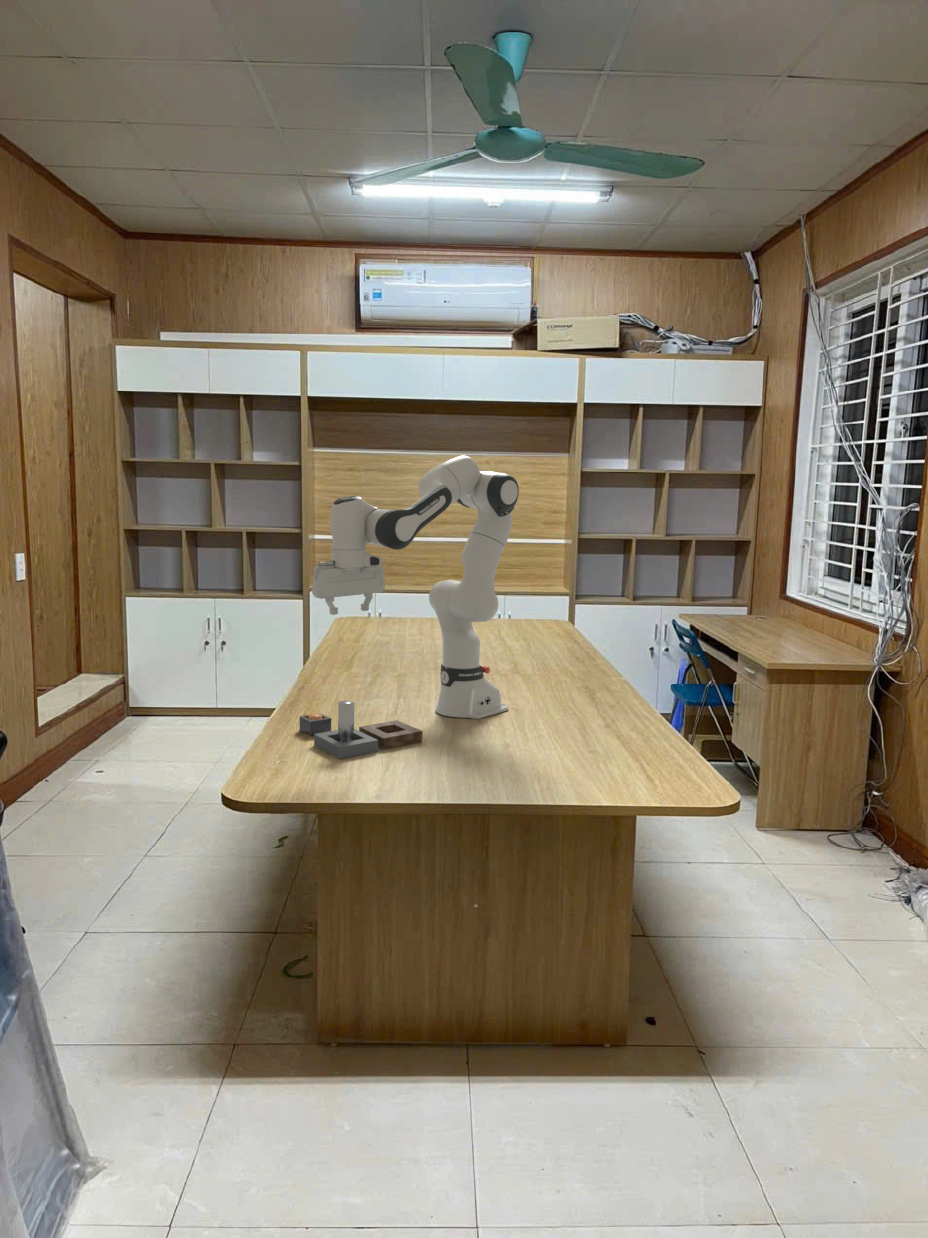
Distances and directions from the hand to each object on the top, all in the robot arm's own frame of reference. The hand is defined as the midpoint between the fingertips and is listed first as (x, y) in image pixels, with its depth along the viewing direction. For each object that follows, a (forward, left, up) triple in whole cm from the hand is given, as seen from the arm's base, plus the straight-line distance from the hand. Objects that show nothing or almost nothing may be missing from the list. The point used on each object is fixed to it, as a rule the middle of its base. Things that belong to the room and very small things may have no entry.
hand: (349, 612), depth 221 cm
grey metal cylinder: (+7, +10, -33) cm, 35 cm away
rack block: (+7, +10, -33) cm, 35 cm away
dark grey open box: (+6, -7, -33) cm, 34 cm away
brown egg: (+6, -7, -32) cm, 33 cm away
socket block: (-7, +10, -33) cm, 35 cm away
